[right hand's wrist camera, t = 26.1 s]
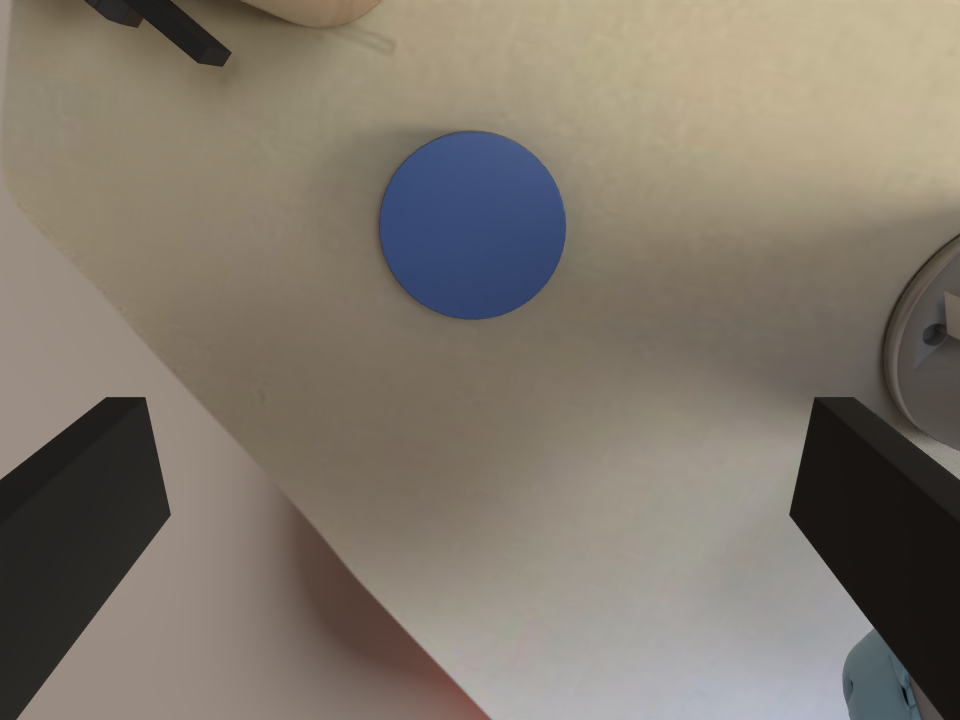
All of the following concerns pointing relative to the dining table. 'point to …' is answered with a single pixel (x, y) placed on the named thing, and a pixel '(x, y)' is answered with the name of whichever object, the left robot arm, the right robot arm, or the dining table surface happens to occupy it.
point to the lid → (472, 225)
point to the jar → (315, 10)
